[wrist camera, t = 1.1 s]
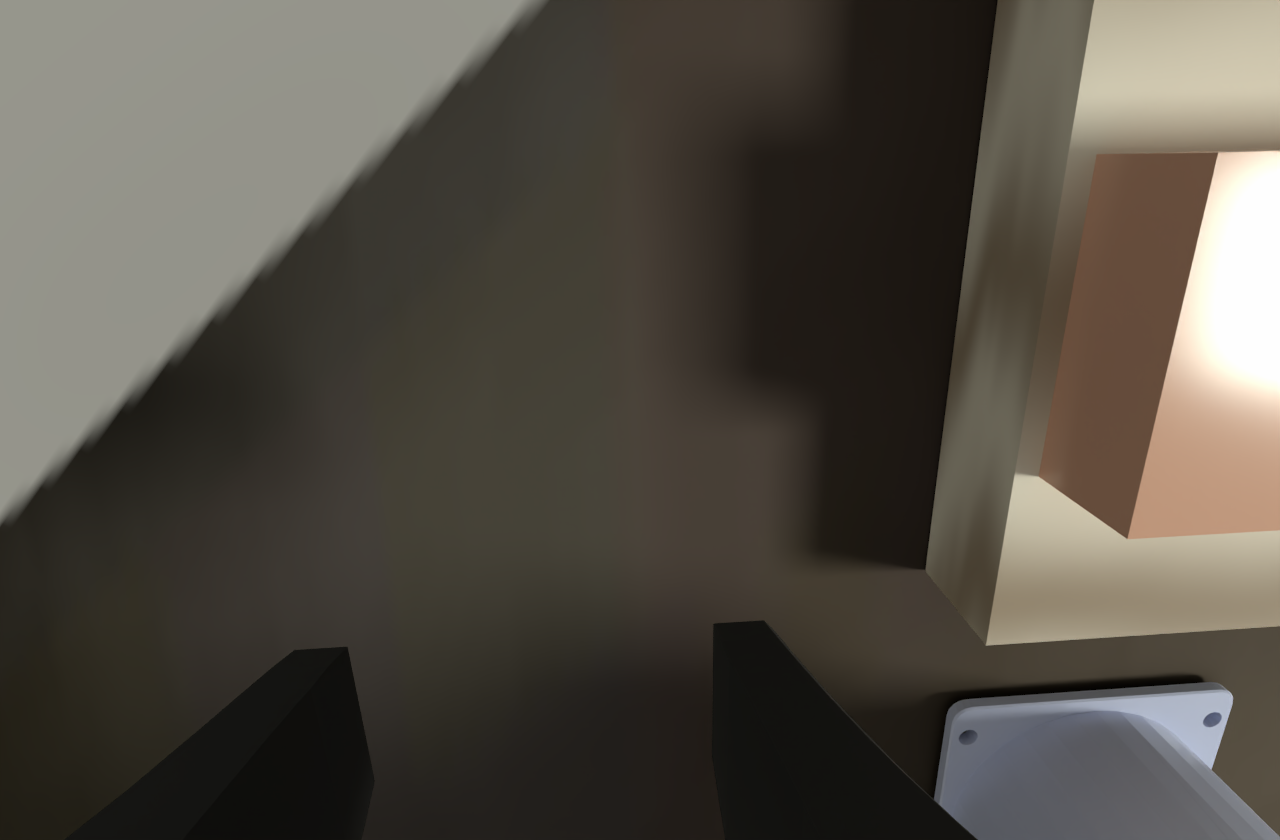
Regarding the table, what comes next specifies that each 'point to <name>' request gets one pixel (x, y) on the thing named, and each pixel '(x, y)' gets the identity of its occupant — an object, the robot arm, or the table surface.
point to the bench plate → (1038, 308)
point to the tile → (1173, 347)
